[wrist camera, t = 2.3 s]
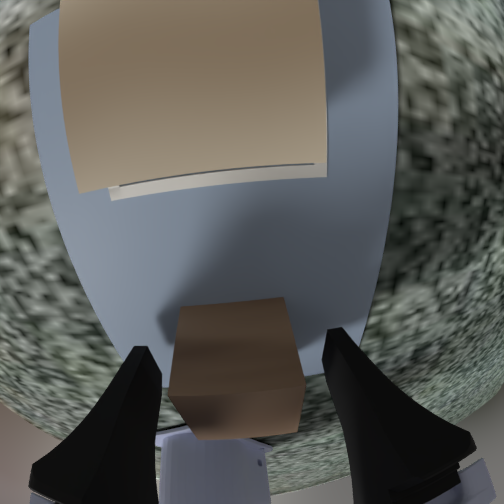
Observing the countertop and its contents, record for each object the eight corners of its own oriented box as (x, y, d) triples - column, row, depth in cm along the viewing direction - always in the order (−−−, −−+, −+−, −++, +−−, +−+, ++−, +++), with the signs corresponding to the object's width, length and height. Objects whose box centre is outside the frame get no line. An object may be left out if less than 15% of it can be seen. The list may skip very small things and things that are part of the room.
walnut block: (282, 358, 13) (297, 431, 9) (200, 366, 12) (198, 440, 9) (283, 296, 10) (306, 384, 7) (180, 306, 10) (167, 395, 7)
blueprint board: (348, 359, 14) (352, 368, 14) (141, 378, 14) (140, 388, 13) (377, -16, 5) (386, -21, 4) (38, 27, 4) (28, 24, 4)
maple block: (279, 133, 7) (326, 163, 4) (143, 149, 7) (79, 193, 4) (270, 8, 5) (307, -58, 2) (131, 27, 5) (62, -14, 2)
